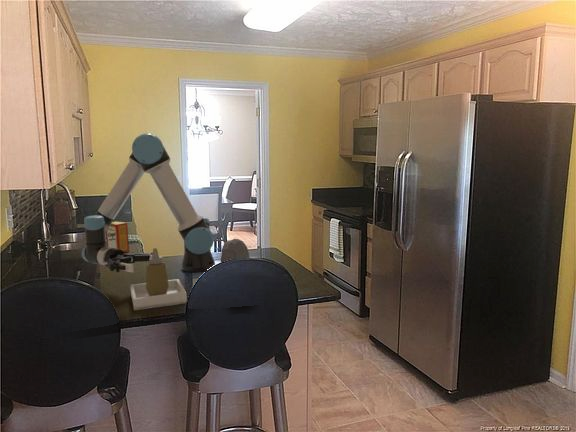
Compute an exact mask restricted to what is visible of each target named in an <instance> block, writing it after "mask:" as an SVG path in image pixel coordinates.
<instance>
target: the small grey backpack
mask: <svg viewBox="0 0 576 432" xmlns="http://www.w3.org/2000/svg"><path fill="white" fill-rule="evenodd" d="M236 258H249V259H250V252H249V248H248V247H247V245H246V244H245V243H244V241H243V240H241V239H239V238H233V239H230V240H227V241H226V242H224V243H223V245H222V248H221V255H220V263H221V262H224V261H227V260H230V259H236Z"/></svg>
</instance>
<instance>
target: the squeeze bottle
mask: <svg viewBox="0 0 576 432" xmlns="http://www.w3.org/2000/svg"><path fill="white" fill-rule="evenodd" d="M152 253H153V254H152V258H149V261H148V264H147V265H146V277H145V278H146V279H145V280H146V281H145V283H146V289H147V292H148V294H149V296H156V295H163V294H167V290H168V286H169V285H168V280H169V279H168V275H167V273H168V272H167V268H166V264H165V263H164V262H163V263H162V257H163V256H161V257H159V256H160V255H159V252H158V248H156V247H154V248H153V250H152Z"/></svg>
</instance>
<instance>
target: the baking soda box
mask: <svg viewBox="0 0 576 432" xmlns="http://www.w3.org/2000/svg"><path fill="white" fill-rule="evenodd" d="M128 230H129V229H128V223H127V222H124V221H113V222H112V223H111V225H110V227H109V229H108V230H107V231H106V232H105V235H106V247H111V248H116V249H121V250H123V251H124V253H125V254H126V253H129V252H130V246H129V244H130V243H129V231H128Z"/></svg>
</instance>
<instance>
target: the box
mask: <svg viewBox="0 0 576 432" xmlns="http://www.w3.org/2000/svg"><path fill="white" fill-rule="evenodd" d="M168 285H169V286H168V290H167V294H163V295H156V296H149V294H148V292H147V289H146V282H142V283H136V284H135V283H133V284H130V285H129V286H130V296H131V302H132V306H133V311H140V310H148V309H153V308H154V309H155V308H160V307H169V306H175V305H176V306H177V305H183V304H187V303H188V297H187V295H188V294H187V291H186V289H185V288H184V286H183V283H182V282H181V280H180V279H178V278H177V279H176V278H175V279H168ZM186 302H187V303H186Z"/></svg>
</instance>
